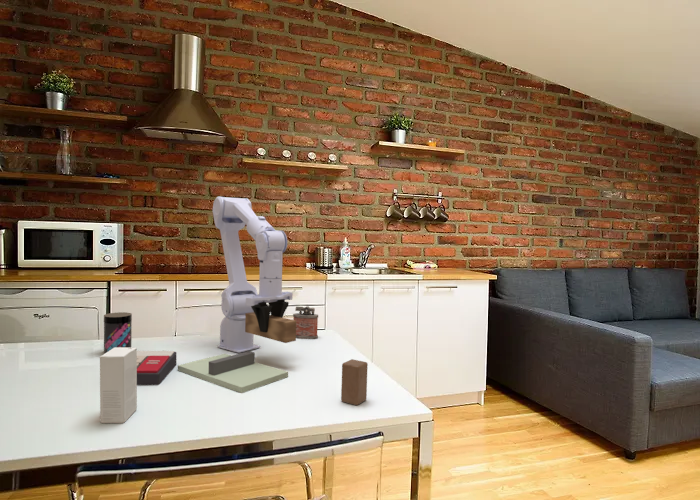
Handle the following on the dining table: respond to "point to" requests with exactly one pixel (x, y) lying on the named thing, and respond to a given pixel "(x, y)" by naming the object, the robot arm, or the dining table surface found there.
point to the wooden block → (354, 382)
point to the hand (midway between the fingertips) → (269, 330)
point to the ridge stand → (234, 371)
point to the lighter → (306, 323)
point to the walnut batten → (272, 328)
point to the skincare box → (118, 384)
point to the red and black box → (154, 366)
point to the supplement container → (117, 330)
